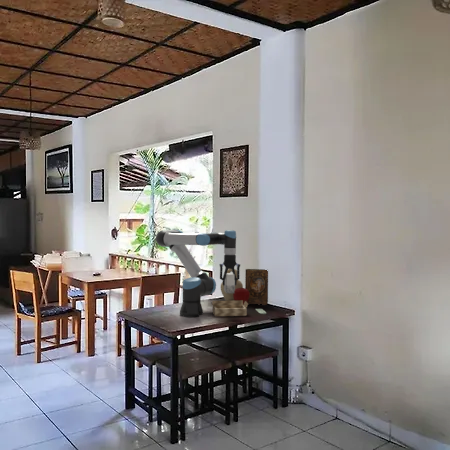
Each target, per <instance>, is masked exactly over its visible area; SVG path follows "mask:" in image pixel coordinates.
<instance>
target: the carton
mask: <svg viewBox="0 0 450 450" xmlns="http://www.w3.org/2000/svg"><path fill="white" fill-rule="evenodd" d="M210 303H211V305H212V314H213V316H215V317H234V316H235V317H241V316H243V317H245V316H247V315H248V314H247V311H248V309H247V308H248V305H249V304H248V303H247V302H246V301H245V302H244V305H243V300H237V301H226V300H212V302H211V301H210Z"/></svg>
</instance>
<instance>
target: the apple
mask: <svg viewBox="0 0 450 450" xmlns="http://www.w3.org/2000/svg"><path fill="white" fill-rule="evenodd" d="M249 295H250V293H249V291H248V290H247V289H245V287H243V288H242V287H241V288H237V289H235V291H234V293H233V298H234V300H235V301H237V300H243V305H244V302H245V301H246V302H248V299H249Z"/></svg>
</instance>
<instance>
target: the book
mask: <svg viewBox="0 0 450 450" xmlns="http://www.w3.org/2000/svg"><path fill="white" fill-rule="evenodd" d="M267 270H268V269H267ZM267 270H265V269H258V268H245V276H244V277H245V279H244V280H245V281H244V283H245V287H244V288H245V289H247V290H248V291H249V293H250V295H249V299H248V302H247V303H248V305H249V304H258V305H259V306H267V305H268V303H269V270H268V271H267ZM260 304H262V305H260ZM258 305H257V306H258Z"/></svg>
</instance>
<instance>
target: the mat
mask: <svg viewBox="0 0 450 450" xmlns="http://www.w3.org/2000/svg"><path fill="white" fill-rule="evenodd" d="M255 311H256V312H258V313H259V314H261V315H267V312H266V311H265V310H264V309H263V308H255Z"/></svg>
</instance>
